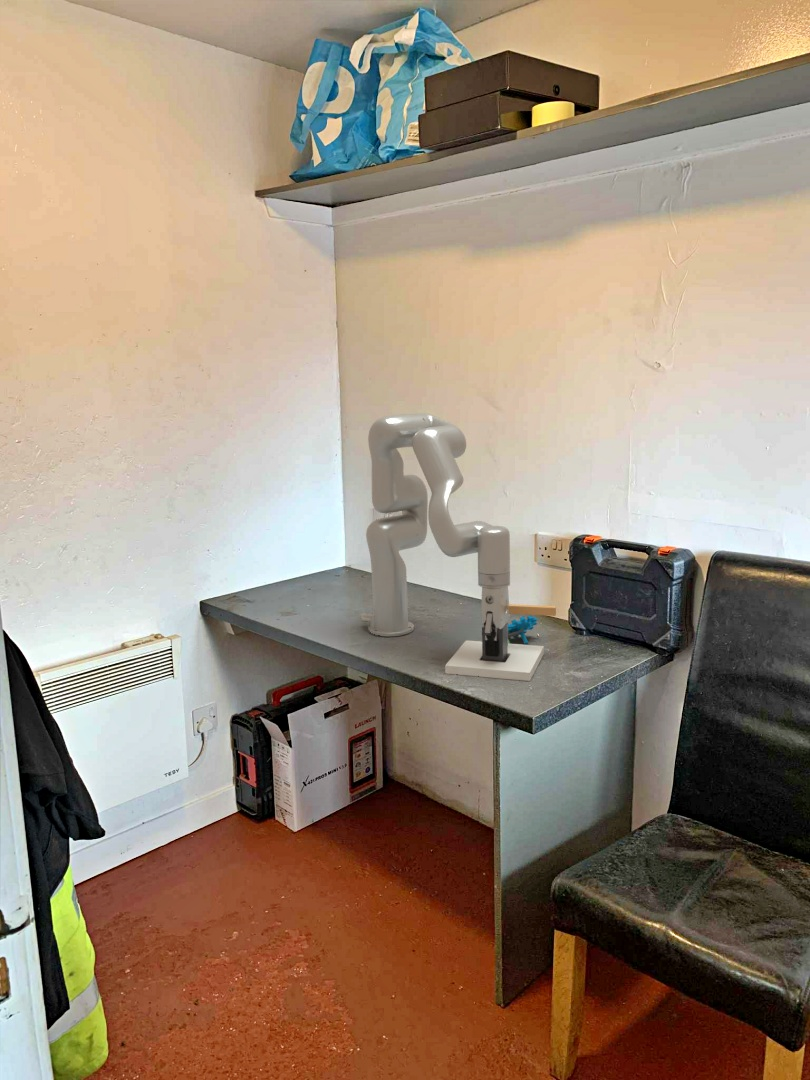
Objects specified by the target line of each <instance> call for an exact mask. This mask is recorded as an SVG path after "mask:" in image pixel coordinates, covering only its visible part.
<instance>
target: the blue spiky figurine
mask: <svg viewBox="0 0 810 1080" xmlns="http://www.w3.org/2000/svg"><path fill="white" fill-rule="evenodd" d="M526 617H527V618H526ZM526 617H525V616H521V617H519V620H517V619H513V620H511V623H508V644H511V641H510V640H509V638H513V637H514V638H517V637H518V636H521V639H522V641H523V645H528V643H529V641H528V639H527V637H526V633H528V631H527V630H531V631H532V630H533V629H534V626H537V624H538V623H537V621H538V618H537V617H536V616H533V615H527V616H526Z"/></svg>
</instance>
